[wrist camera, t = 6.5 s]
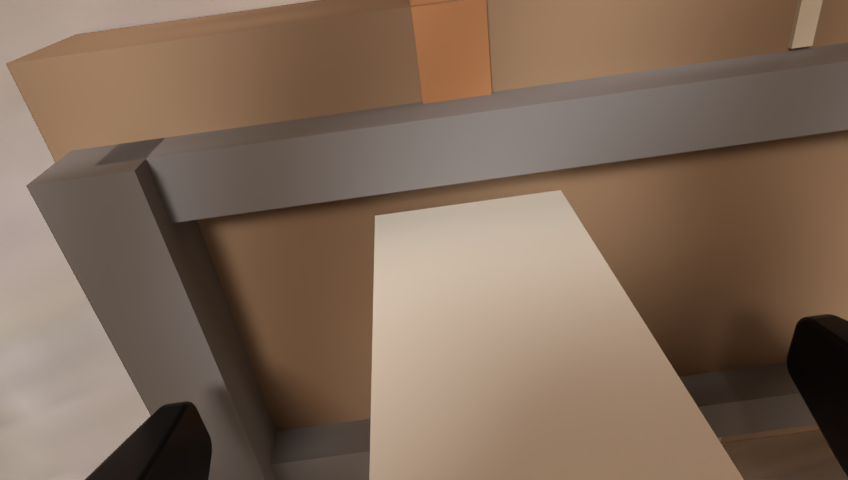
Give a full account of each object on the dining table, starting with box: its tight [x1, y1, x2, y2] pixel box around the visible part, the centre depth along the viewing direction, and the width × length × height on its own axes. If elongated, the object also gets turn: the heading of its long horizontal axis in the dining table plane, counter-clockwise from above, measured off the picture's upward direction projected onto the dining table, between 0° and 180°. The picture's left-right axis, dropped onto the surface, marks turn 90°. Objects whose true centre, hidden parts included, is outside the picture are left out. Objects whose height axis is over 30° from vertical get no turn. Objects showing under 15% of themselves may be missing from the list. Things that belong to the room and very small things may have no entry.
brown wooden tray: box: [6, 0, 848, 480], centre depth 10 cm, size 22×10×3 cm, turn 97°
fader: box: [369, 190, 744, 480], centre depth 8 cm, size 3×4×6 cm
